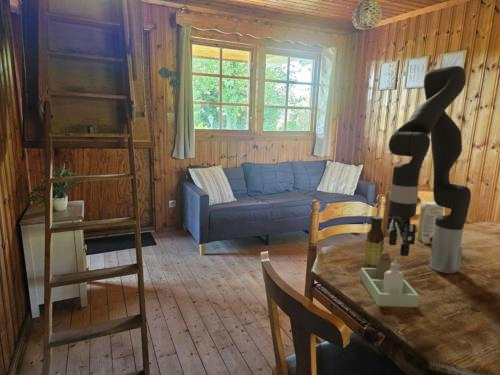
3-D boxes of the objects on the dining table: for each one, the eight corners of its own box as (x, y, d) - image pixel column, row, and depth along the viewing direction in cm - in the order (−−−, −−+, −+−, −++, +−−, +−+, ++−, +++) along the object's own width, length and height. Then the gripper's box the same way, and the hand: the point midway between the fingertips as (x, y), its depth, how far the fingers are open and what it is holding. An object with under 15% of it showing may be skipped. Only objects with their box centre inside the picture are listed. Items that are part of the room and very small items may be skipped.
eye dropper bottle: (383, 289, 107) (386, 256, 104) (401, 294, 104) (406, 259, 102) (381, 296, 103) (385, 260, 101) (400, 300, 100) (405, 265, 98)
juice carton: (441, 244, 151) (446, 205, 147) (422, 244, 151) (427, 204, 147) (432, 238, 158) (437, 201, 154) (414, 238, 158) (419, 200, 154)
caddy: (393, 278, 117) (397, 247, 114) (417, 307, 99) (422, 270, 96) (359, 278, 117) (362, 246, 114) (377, 305, 99) (381, 269, 97)
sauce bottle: (382, 271, 123) (388, 220, 119) (365, 269, 124) (370, 219, 120) (379, 263, 129) (384, 215, 125) (363, 262, 130) (367, 214, 126)
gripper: (428, 205, 90) (421, 260, 93) (405, 193, 104) (400, 241, 107) (400, 205, 90) (395, 259, 93) (381, 193, 104) (377, 241, 107)
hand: (397, 249), depth 100 cm, fingers open, 8 cm apart
